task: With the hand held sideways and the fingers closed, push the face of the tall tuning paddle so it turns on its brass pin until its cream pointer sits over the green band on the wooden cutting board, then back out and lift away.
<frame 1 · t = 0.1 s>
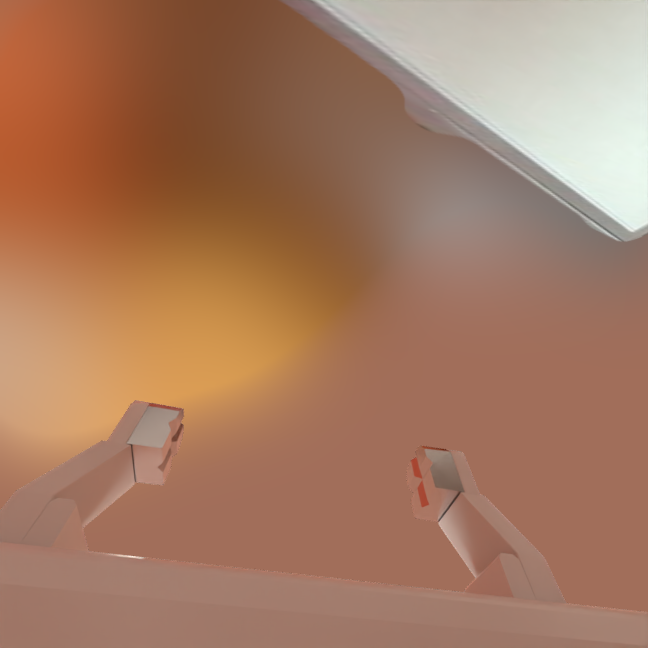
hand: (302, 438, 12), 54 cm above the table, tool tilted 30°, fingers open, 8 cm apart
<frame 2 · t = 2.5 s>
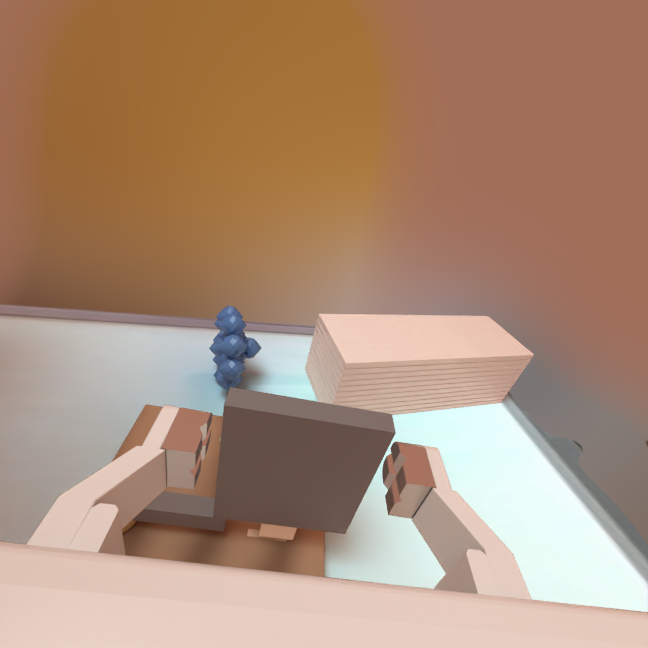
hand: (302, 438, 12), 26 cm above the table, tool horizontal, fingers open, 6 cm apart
tuning paddle: (228, 473, 27), point 11 cm above the table, hinge at 0.0°
grapes: (232, 382, 50), on the table
wooden cutting board: (121, 532, 31), on the table
stack of papers: (405, 388, 58), on the table
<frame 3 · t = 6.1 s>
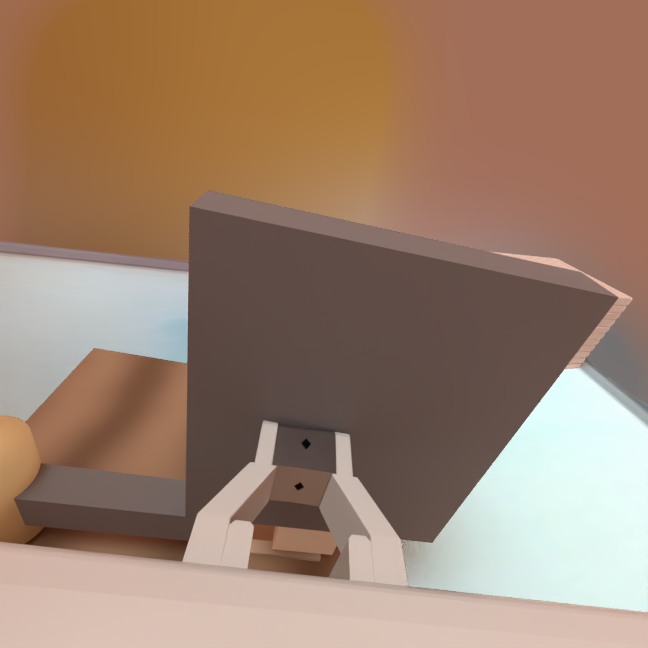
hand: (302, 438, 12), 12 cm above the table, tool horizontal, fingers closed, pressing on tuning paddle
tuning paddle: (212, 425, 13), point 11 cm above the table, hinge at 0.8°, touching gripper
wooden cutting board: (25, 547, 18), on the table
stack of papers: (456, 348, 44), on the table
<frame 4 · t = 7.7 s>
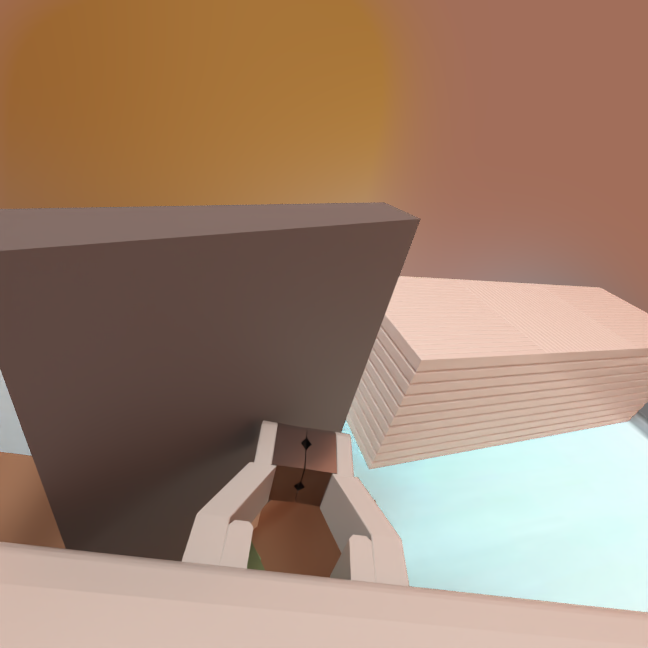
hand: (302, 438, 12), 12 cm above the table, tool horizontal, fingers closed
tuning paddle: (89, 510, 10), point 11 cm above the table, hinge at 42.9°, touching gripper
stack of papers: (482, 400, 36), on the table
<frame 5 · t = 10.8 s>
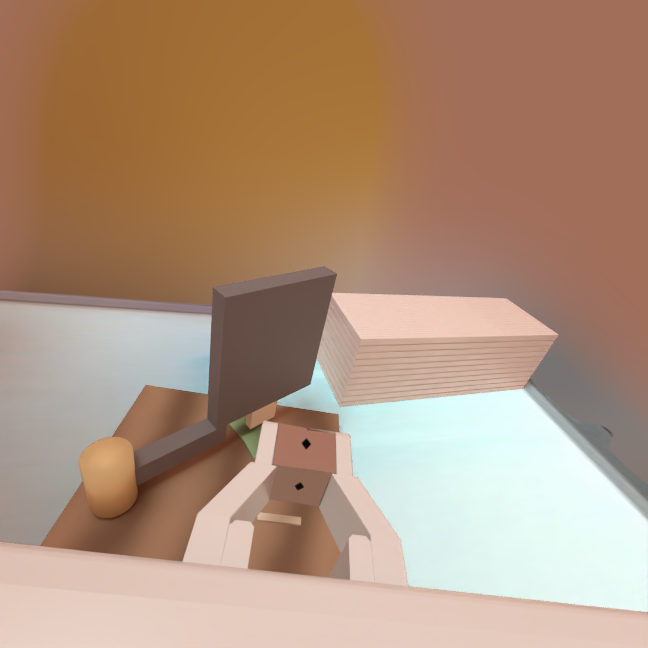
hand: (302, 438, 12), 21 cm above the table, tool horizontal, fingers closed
tuning paddle: (222, 378, 29), point 11 cm above the table, hinge at 44.4°
wooden cutting board: (117, 517, 28), on the table
stack of papers: (421, 374, 55), on the table
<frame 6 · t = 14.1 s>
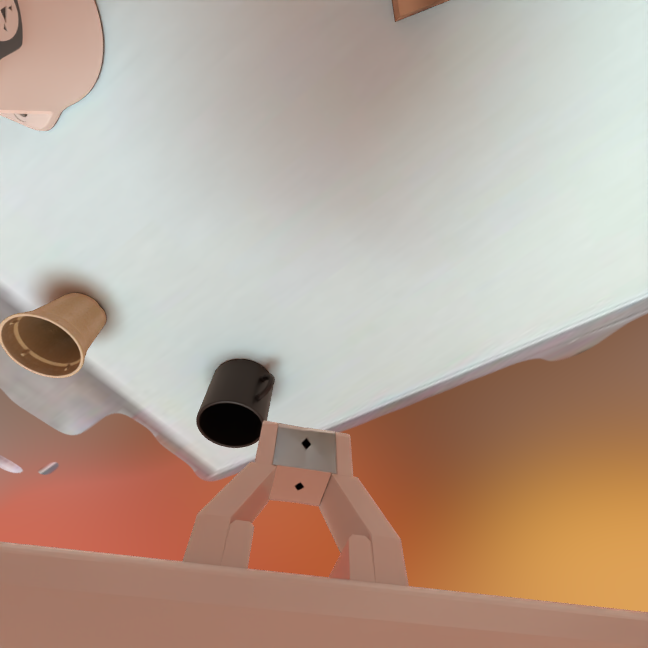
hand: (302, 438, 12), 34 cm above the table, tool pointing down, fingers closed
flower pot: (84, 310, 49), on the table
mug: (249, 376, 56), on the table
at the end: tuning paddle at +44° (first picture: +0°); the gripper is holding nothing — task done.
